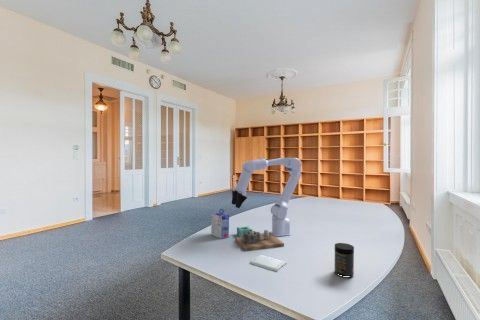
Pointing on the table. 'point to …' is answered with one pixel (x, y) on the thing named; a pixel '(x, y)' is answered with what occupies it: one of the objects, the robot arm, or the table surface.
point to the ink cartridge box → (220, 225)
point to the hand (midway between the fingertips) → (235, 205)
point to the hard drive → (268, 262)
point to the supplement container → (344, 259)
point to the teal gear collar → (243, 230)
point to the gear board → (258, 241)
